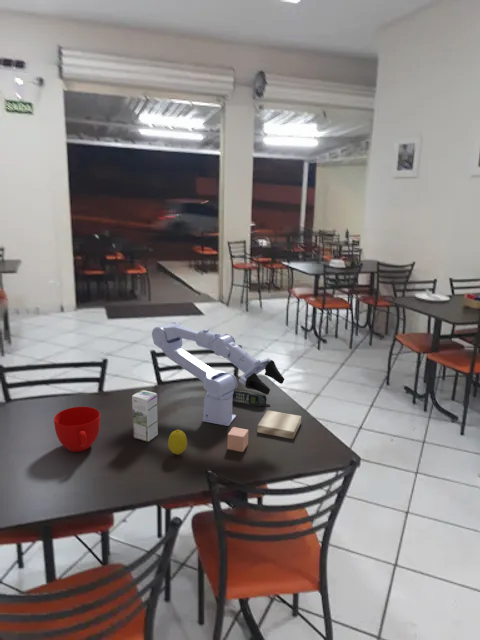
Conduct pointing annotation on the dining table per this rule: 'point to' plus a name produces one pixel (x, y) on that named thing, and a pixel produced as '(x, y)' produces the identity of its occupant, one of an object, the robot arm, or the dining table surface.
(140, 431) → the syrup box
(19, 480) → the dining table surface
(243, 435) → the terracotta cube
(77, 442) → the ceramic cup
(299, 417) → the birch block
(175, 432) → the lemon
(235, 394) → the mobile phone
